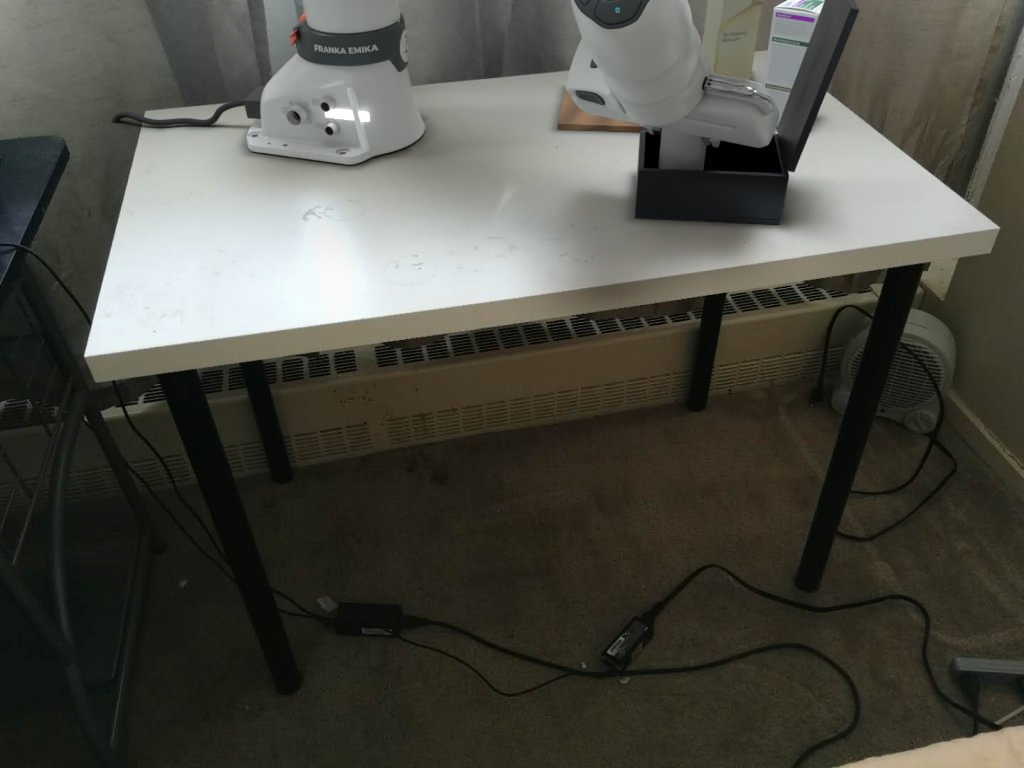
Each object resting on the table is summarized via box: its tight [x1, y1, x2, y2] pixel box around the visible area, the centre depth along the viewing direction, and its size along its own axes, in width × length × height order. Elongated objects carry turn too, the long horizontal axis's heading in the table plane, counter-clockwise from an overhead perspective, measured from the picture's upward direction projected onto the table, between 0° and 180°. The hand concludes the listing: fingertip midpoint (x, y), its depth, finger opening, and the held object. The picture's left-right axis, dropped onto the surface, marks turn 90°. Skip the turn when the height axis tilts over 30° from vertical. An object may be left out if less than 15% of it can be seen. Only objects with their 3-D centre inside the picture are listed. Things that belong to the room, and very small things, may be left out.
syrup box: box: [762, 0, 825, 129], centre depth 106 cm, size 6×6×14 cm
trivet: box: [556, 87, 648, 133], centre depth 114 cm, size 14×14×1 cm
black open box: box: [634, 129, 790, 226], centre depth 93 cm, size 15×10×6 cm
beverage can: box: [658, 129, 706, 170], centre depth 91 cm, size 5×5×12 cm
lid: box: [776, 0, 860, 173], centre depth 85 cm, size 16×10×1 cm
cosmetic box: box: [702, 0, 764, 80], centre depth 118 cm, size 6×4×12 cm
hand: (686, 134), depth 91 cm, fingers closed on beverage can, 5 cm apart
